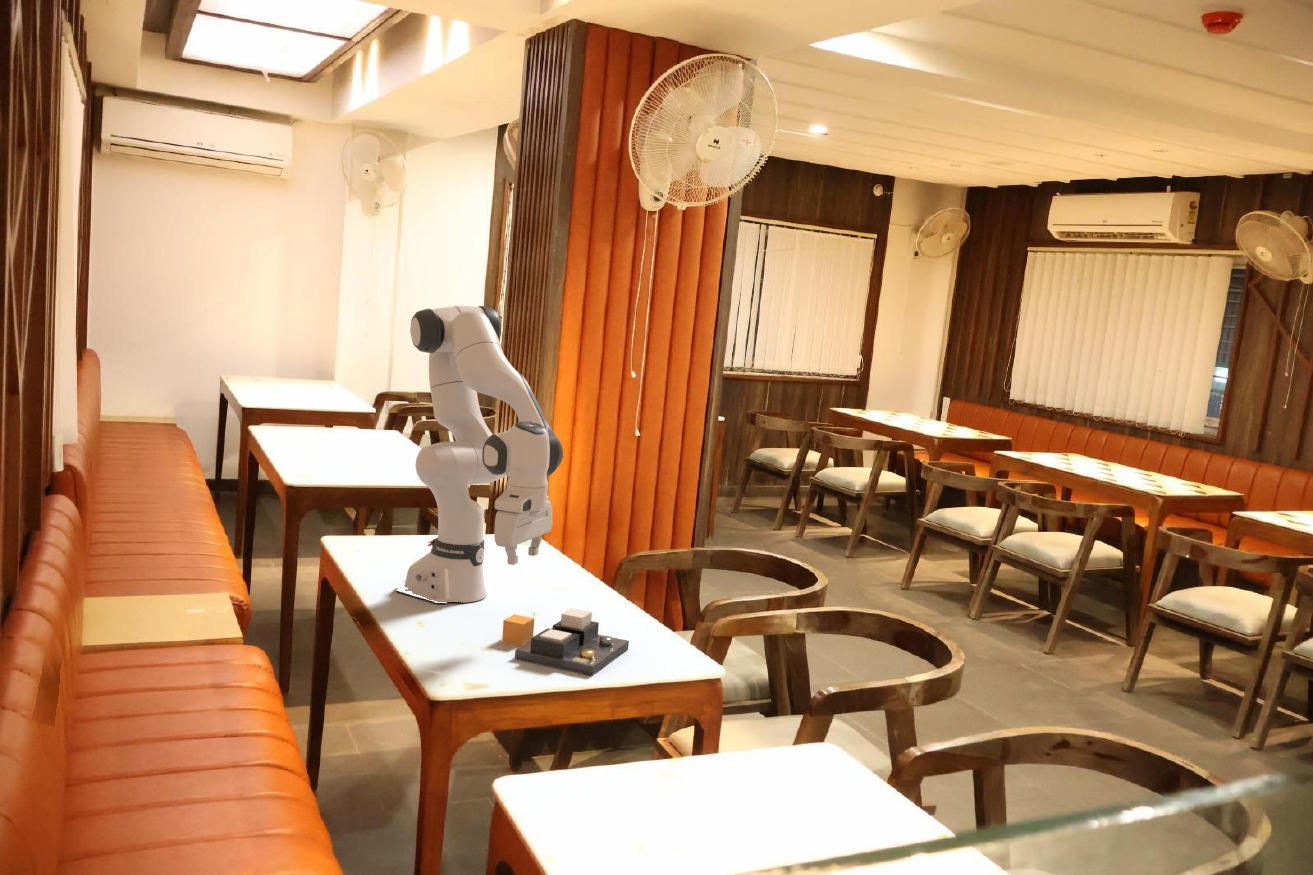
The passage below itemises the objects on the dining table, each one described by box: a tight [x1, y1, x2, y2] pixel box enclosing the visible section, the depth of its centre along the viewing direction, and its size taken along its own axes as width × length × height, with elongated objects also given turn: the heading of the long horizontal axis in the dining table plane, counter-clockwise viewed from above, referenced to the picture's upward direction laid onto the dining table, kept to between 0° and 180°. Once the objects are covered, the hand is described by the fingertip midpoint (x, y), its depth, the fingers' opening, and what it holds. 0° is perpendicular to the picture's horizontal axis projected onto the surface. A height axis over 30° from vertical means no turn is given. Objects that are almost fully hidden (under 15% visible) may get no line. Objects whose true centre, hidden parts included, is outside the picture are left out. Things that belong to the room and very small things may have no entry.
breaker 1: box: [540, 628, 572, 642], centre depth 225 cm, size 5×5×3 cm
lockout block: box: [501, 614, 535, 647], centre depth 235 cm, size 5×5×5 cm
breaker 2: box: [560, 607, 593, 630], centre depth 234 cm, size 5×5×3 cm
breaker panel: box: [514, 620, 630, 676], centre depth 229 cm, size 18×19×5 cm
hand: (523, 559), depth 233 cm, fingers open, 8 cm apart
